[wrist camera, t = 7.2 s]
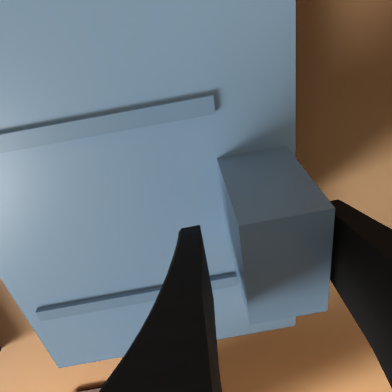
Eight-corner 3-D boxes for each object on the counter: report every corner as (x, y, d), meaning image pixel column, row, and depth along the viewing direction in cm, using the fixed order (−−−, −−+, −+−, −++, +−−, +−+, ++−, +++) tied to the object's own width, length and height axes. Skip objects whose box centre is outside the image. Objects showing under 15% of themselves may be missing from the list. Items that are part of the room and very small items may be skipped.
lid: (288, 308, 18) (328, 407, 14) (64, 348, 18) (34, 459, 14) (282, -70, 10) (381, -116, 5) (-143, 9, 10) (-383, 26, 5)
